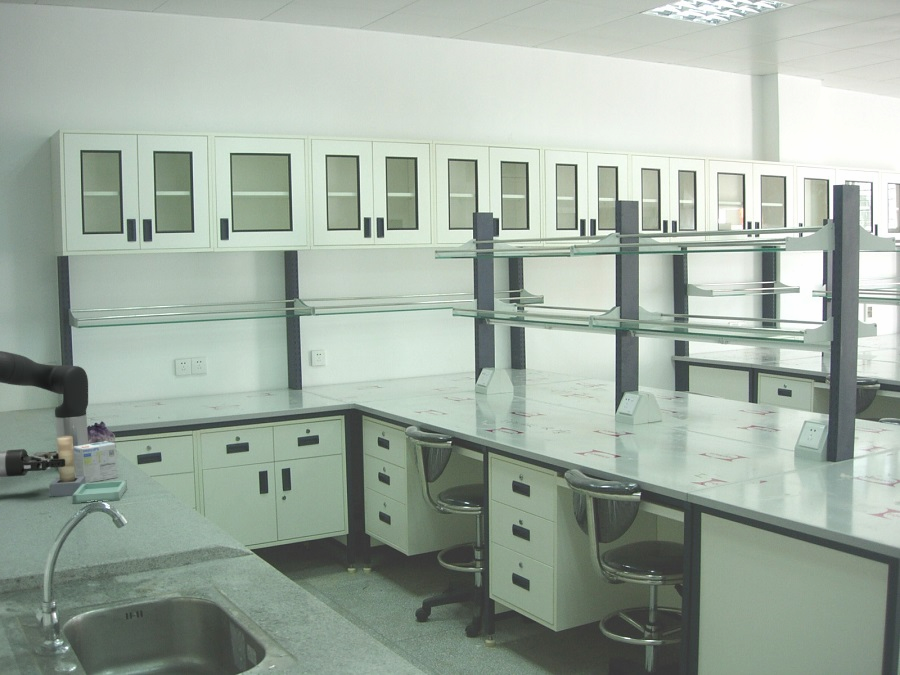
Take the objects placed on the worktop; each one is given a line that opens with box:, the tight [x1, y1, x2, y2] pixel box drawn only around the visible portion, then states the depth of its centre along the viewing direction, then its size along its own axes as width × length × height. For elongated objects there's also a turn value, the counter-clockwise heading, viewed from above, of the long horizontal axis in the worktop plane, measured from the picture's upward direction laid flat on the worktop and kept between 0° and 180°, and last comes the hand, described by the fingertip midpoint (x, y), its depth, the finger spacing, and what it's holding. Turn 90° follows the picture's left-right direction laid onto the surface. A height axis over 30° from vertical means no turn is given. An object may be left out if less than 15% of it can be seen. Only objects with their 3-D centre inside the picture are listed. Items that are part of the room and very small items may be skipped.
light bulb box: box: [73, 441, 118, 483], centre depth 274 cm, size 11×7×11 cm, turn 134°
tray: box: [71, 479, 128, 504], centre depth 254 cm, size 14×12×2 cm
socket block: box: [49, 476, 86, 498], centre depth 259 cm, size 8×8×4 cm
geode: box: [87, 420, 117, 449], centre depth 322 cm, size 20×12×10 cm, turn 28°
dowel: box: [56, 436, 76, 483], centre depth 258 cm, size 4×4×16 cm
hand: (68, 459), depth 258 cm, fingers open, 8 cm apart
